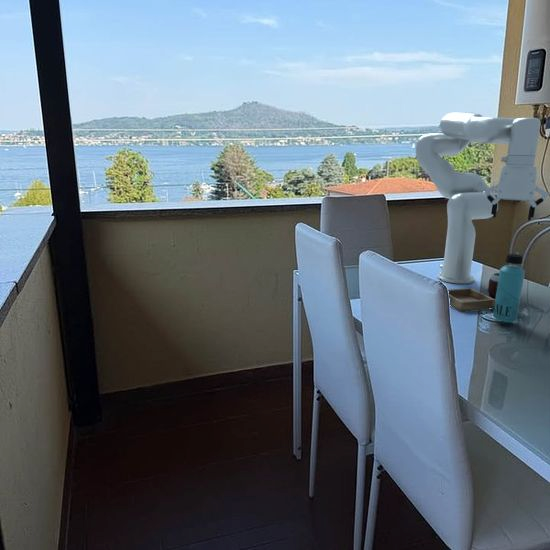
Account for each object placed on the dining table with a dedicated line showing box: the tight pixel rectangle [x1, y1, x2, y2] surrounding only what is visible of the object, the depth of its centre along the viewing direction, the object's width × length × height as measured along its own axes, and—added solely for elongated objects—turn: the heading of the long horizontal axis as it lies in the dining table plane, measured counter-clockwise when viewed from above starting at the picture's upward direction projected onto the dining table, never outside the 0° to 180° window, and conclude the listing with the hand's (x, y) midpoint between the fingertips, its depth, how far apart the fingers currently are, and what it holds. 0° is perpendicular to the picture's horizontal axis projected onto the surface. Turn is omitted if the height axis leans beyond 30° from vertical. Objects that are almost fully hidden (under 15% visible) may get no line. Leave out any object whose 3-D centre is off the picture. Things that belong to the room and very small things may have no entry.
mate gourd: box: [487, 252, 520, 299], centre depth 148 cm, size 8×8×15 cm
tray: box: [447, 287, 495, 313], centre depth 145 cm, size 12×12×3 cm
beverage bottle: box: [492, 253, 526, 323], centre depth 128 cm, size 6×7×20 cm
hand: (511, 218), depth 143 cm, fingers open, 9 cm apart
